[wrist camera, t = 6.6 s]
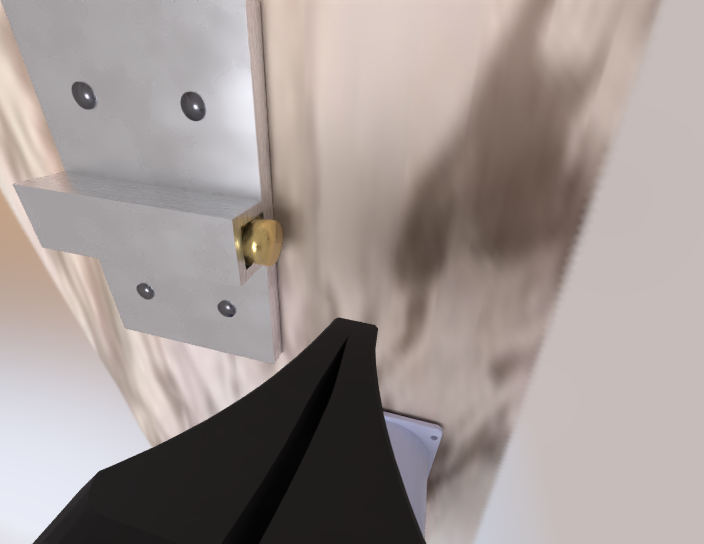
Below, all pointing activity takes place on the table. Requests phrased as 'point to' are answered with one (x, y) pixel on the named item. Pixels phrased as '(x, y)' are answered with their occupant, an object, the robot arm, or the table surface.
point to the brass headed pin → (262, 241)
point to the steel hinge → (158, 159)
